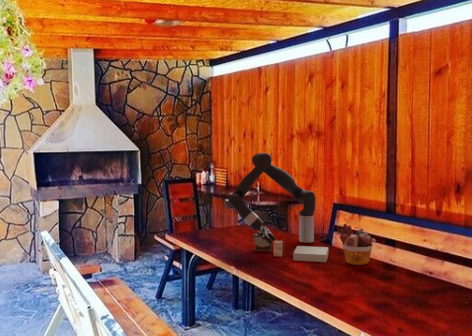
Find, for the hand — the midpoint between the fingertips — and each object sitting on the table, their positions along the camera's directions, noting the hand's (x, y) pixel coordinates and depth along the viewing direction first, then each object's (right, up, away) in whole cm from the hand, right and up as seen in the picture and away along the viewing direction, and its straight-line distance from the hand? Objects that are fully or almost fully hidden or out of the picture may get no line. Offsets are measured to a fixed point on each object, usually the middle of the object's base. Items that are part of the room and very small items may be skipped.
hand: (273, 241), depth 277 cm
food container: (-5, -7, +14) cm, 17 cm away
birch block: (+3, -8, 0) cm, 8 cm away
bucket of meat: (+44, -9, -17) cm, 48 cm away
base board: (+21, -8, -5) cm, 23 cm away
